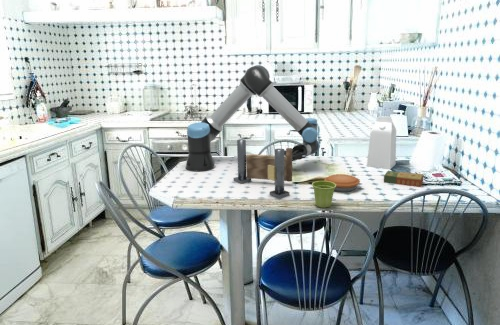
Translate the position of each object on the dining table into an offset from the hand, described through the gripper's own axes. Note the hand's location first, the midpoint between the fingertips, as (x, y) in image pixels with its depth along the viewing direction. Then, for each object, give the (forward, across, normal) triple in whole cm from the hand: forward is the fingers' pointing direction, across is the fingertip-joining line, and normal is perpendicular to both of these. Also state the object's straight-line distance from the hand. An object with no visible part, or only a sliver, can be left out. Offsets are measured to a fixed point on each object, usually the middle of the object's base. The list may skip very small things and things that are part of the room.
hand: (277, 161), depth 195 cm
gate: (+8, 0, -7) cm, 11 cm away
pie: (-3, -31, -9) cm, 33 cm away
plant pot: (+21, -34, -9) cm, 40 cm away
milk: (-49, -34, -9) cm, 61 cm away
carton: (-25, -52, -10) cm, 59 cm away
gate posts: (+16, 0, -9) cm, 18 cm away
